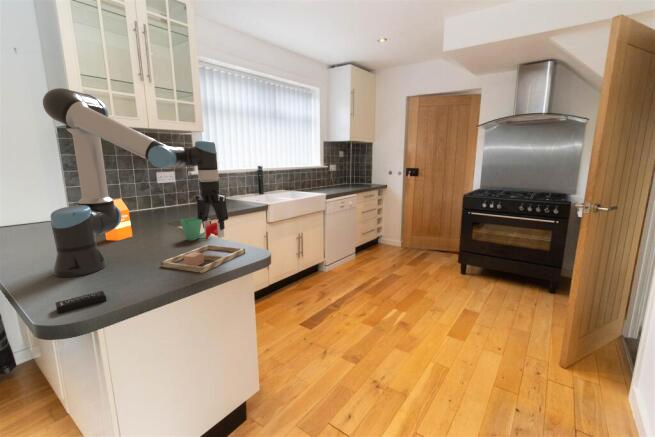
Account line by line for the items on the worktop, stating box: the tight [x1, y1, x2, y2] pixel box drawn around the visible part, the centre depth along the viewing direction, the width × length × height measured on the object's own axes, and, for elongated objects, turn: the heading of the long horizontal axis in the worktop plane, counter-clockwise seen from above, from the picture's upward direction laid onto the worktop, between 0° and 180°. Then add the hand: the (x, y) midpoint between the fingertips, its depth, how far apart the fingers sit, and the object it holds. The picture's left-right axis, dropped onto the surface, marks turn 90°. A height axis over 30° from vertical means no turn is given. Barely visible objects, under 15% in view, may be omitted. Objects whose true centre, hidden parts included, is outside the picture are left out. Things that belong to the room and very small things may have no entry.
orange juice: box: [104, 198, 133, 241], centre depth 163 cm, size 8×9×20 cm
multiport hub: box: [55, 290, 108, 315], centre depth 90 cm, size 4×11×2 cm, turn 133°
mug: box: [180, 217, 212, 241], centre depth 160 cm, size 15×10×10 cm
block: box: [183, 252, 205, 266], centre depth 122 cm, size 5×5×4 cm
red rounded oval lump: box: [205, 221, 218, 240], centre depth 131 cm, size 8×6×6 cm
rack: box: [160, 244, 246, 274], centre depth 127 cm, size 25×20×2 cm
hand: (214, 236), depth 131 cm, fingers closed on red rounded oval lump, 6 cm apart
